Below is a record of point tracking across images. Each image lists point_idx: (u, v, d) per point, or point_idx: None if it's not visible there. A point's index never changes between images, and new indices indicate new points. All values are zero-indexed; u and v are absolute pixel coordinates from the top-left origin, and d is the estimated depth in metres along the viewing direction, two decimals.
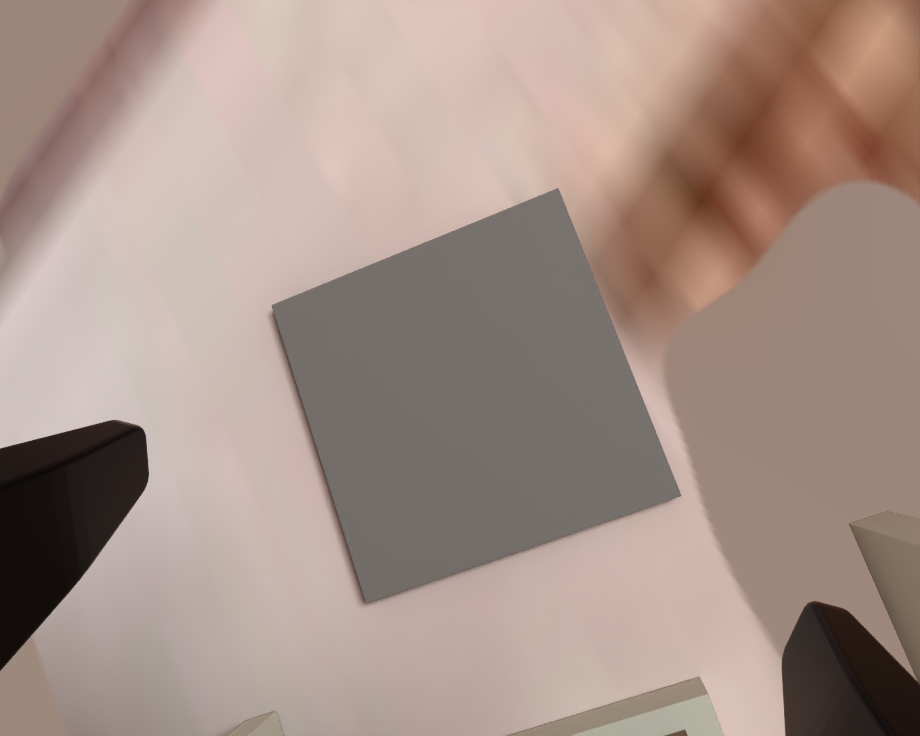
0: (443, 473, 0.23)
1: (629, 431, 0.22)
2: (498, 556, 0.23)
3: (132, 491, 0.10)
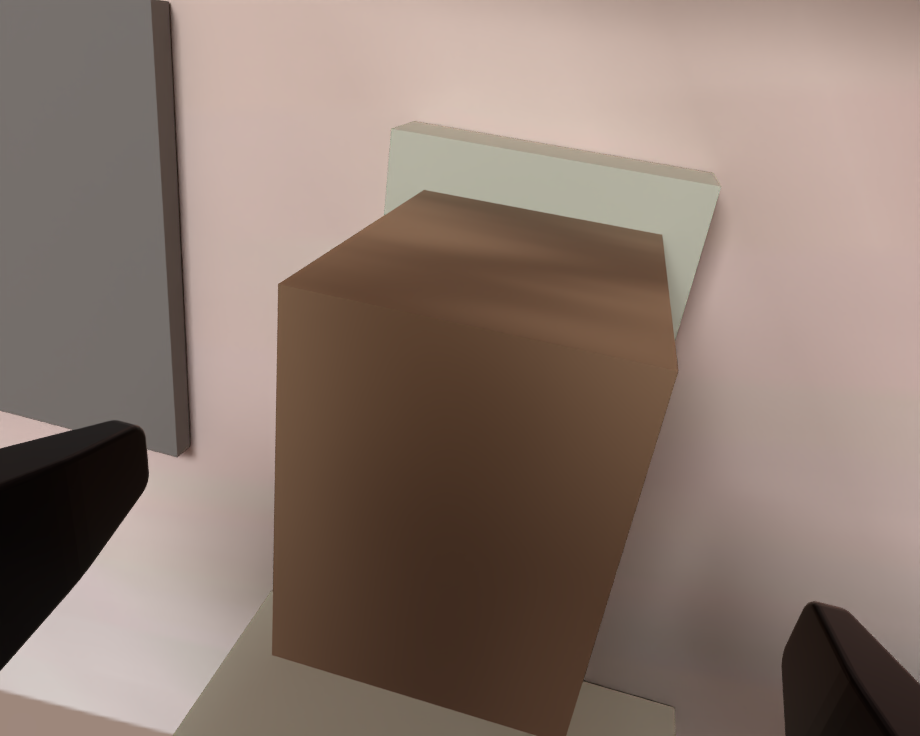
0: (54, 296, 0.17)
1: (48, 24, 0.15)
2: (166, 290, 0.17)
3: (132, 491, 0.10)
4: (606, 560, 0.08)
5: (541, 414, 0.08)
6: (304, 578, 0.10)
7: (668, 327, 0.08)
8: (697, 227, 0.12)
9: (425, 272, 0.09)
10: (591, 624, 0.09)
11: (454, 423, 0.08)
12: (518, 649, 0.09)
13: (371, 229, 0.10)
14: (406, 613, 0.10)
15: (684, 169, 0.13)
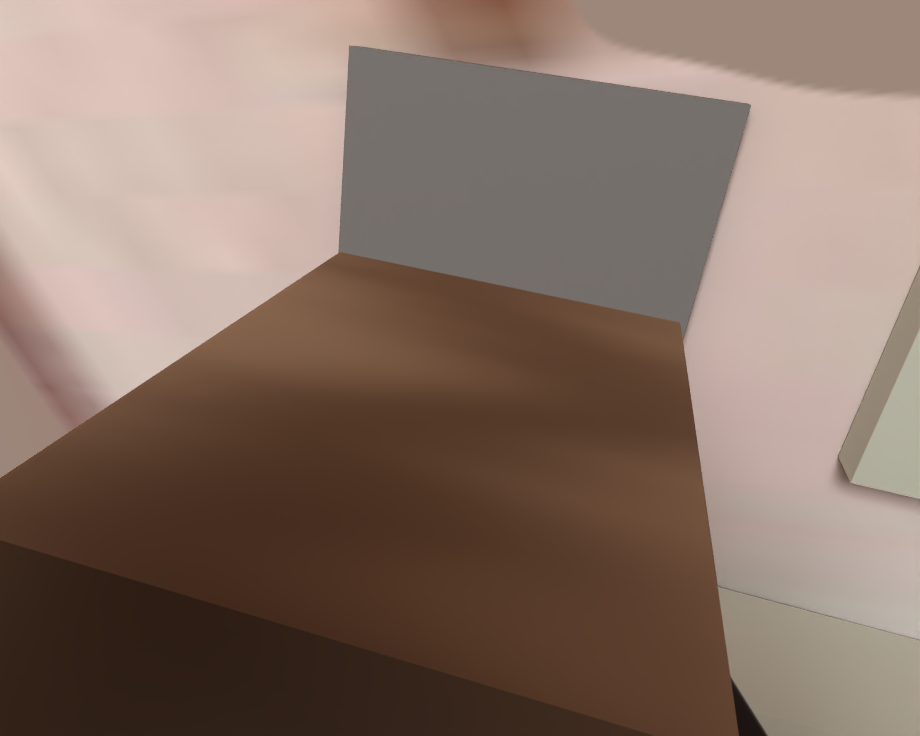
0: None
1: (647, 121, 0.18)
2: (684, 327, 0.20)
3: None
4: None
5: None
6: None
7: (708, 581, 0.04)
8: None
9: (269, 449, 0.05)
10: None
11: None
12: None
13: (217, 344, 0.06)
14: None
15: None
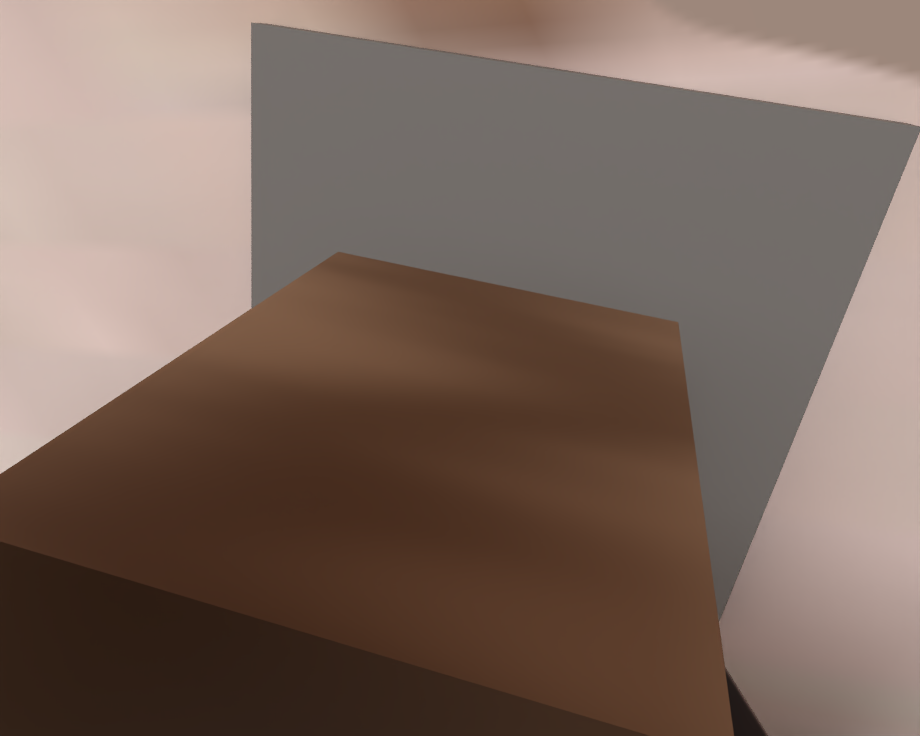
0: None
1: (739, 151, 0.11)
2: (779, 464, 0.13)
3: None
4: None
5: None
6: None
7: (704, 580, 0.04)
8: None
9: (263, 449, 0.05)
10: None
11: None
12: None
13: (214, 343, 0.06)
14: None
15: None
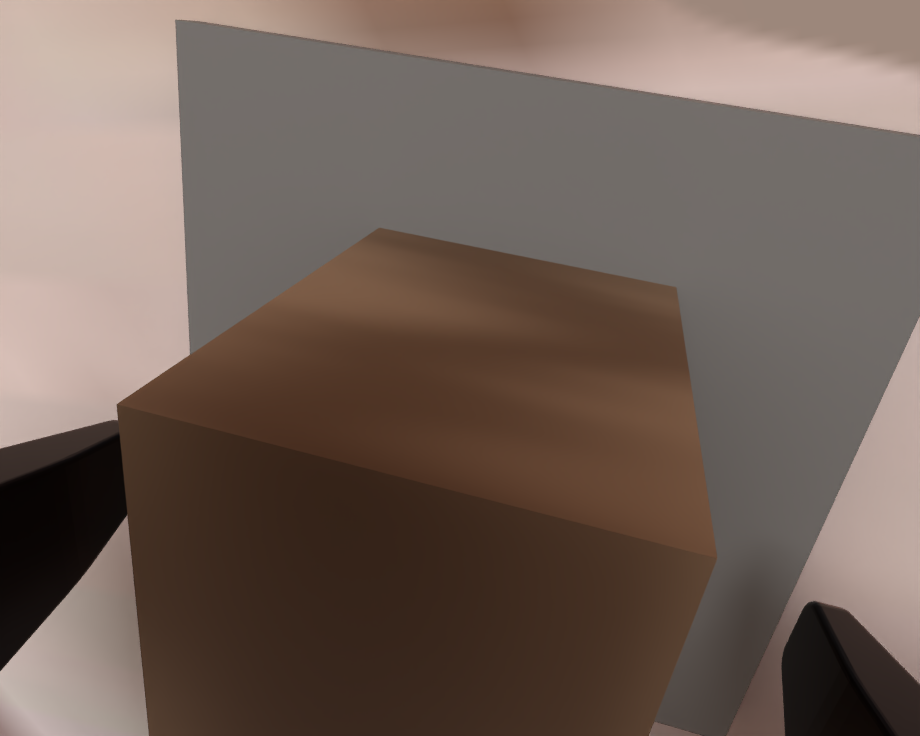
0: None
1: (766, 178, 0.09)
2: (808, 545, 0.11)
3: None
4: None
5: (508, 603, 0.05)
6: None
7: (695, 459, 0.06)
8: None
9: (349, 368, 0.06)
10: None
11: (381, 605, 0.06)
12: None
13: (293, 294, 0.08)
14: None
15: None
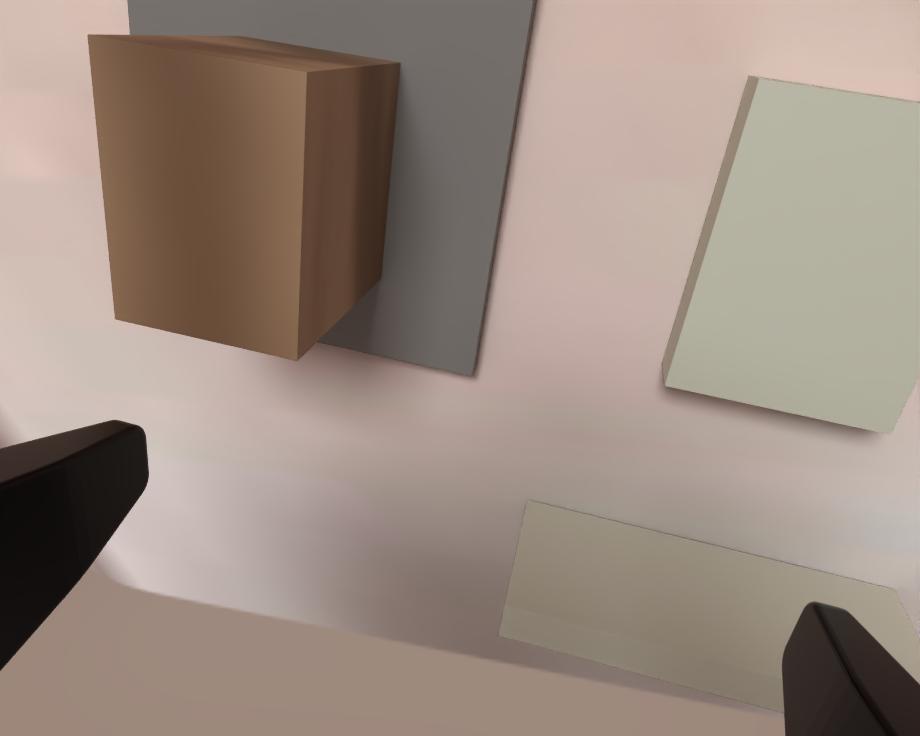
0: None
1: None
2: (494, 225, 0.19)
3: (132, 491, 0.10)
4: (294, 211, 0.14)
5: (242, 109, 0.13)
6: (127, 252, 0.15)
7: (329, 68, 0.14)
8: None
9: (191, 44, 0.14)
10: (295, 260, 0.14)
11: (196, 122, 0.14)
12: (258, 288, 0.15)
13: (176, 36, 0.16)
14: (191, 270, 0.15)
15: None
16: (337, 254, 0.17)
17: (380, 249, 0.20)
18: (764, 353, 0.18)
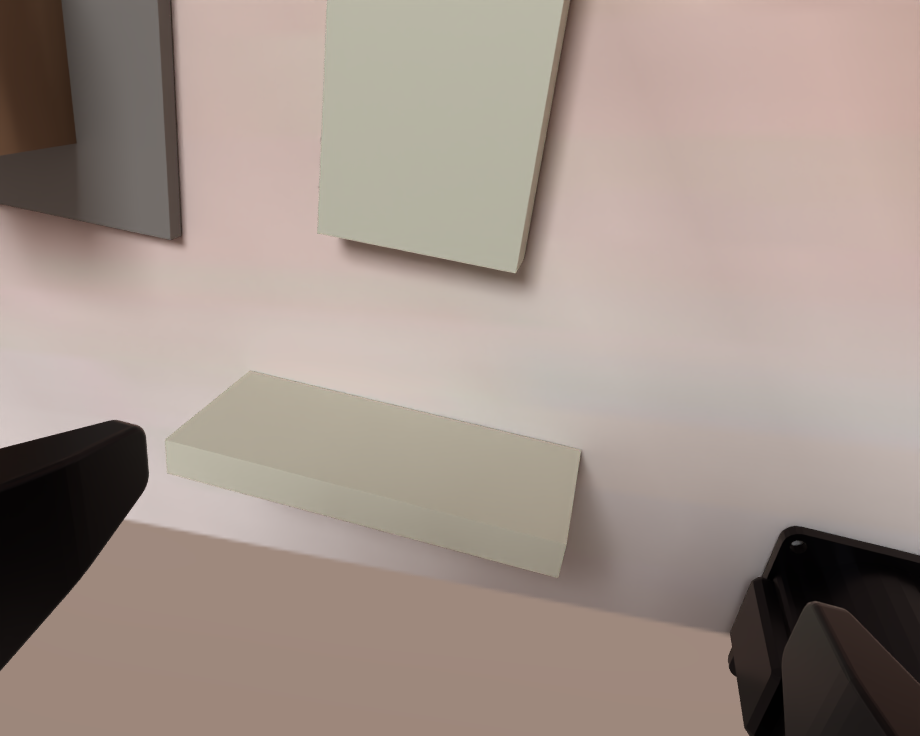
0: None
1: None
2: (160, 83, 0.21)
3: (132, 491, 0.10)
4: None
5: None
6: None
7: None
8: None
9: None
10: None
11: None
12: None
13: None
14: None
15: None
16: None
17: (65, 110, 0.21)
18: (393, 194, 0.19)
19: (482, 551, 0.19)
